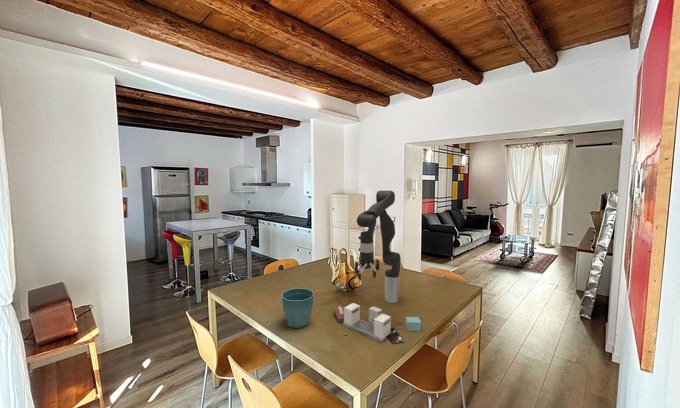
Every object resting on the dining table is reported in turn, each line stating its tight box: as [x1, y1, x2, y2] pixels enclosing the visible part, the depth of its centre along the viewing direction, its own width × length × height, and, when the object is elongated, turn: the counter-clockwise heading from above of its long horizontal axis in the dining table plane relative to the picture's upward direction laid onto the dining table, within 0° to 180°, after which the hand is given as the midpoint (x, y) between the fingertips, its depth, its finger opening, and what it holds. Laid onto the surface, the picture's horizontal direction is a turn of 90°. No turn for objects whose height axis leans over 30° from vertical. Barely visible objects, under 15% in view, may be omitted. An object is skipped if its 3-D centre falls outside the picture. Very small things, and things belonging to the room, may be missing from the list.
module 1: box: [343, 302, 361, 325], centre depth 161 cm, size 8×5×9 cm, turn 140°
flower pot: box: [281, 287, 315, 329], centre depth 162 cm, size 18×18×17 cm
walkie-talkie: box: [333, 300, 346, 324], centre depth 172 cm, size 9×4×20 cm
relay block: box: [405, 316, 422, 332], centre depth 157 cm, size 5×6×7 cm
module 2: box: [373, 313, 392, 339], centre depth 148 cm, size 8×5×9 cm, turn 140°
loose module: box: [368, 306, 383, 325], centre depth 163 cm, size 4×6×8 cm
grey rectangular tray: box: [342, 319, 391, 343], centre depth 155 cm, size 10×25×2 cm, turn 50°
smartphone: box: [386, 327, 405, 345], centre depth 150 cm, size 7×1×15 cm
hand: (367, 278), depth 159 cm, fingers open, 8 cm apart
